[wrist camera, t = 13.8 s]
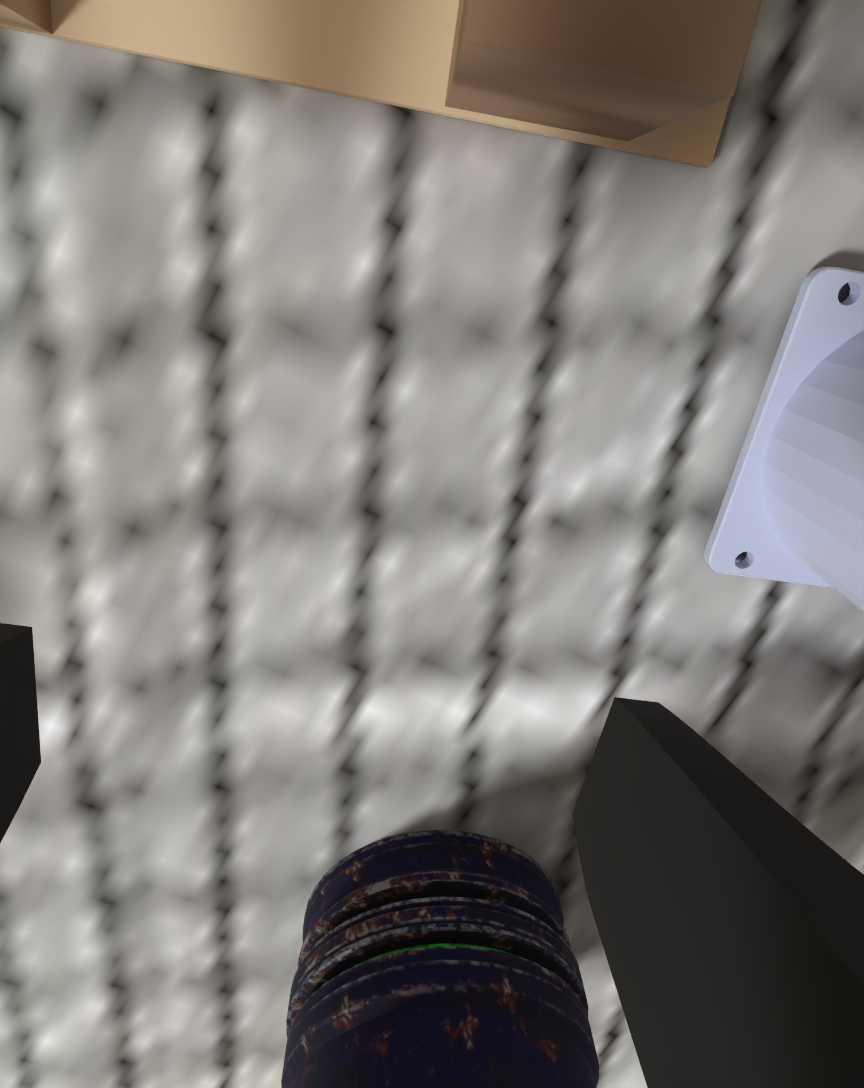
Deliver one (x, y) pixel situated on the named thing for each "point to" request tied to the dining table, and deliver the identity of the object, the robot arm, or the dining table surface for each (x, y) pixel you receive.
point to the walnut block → (597, 60)
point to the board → (325, 53)
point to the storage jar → (437, 973)
